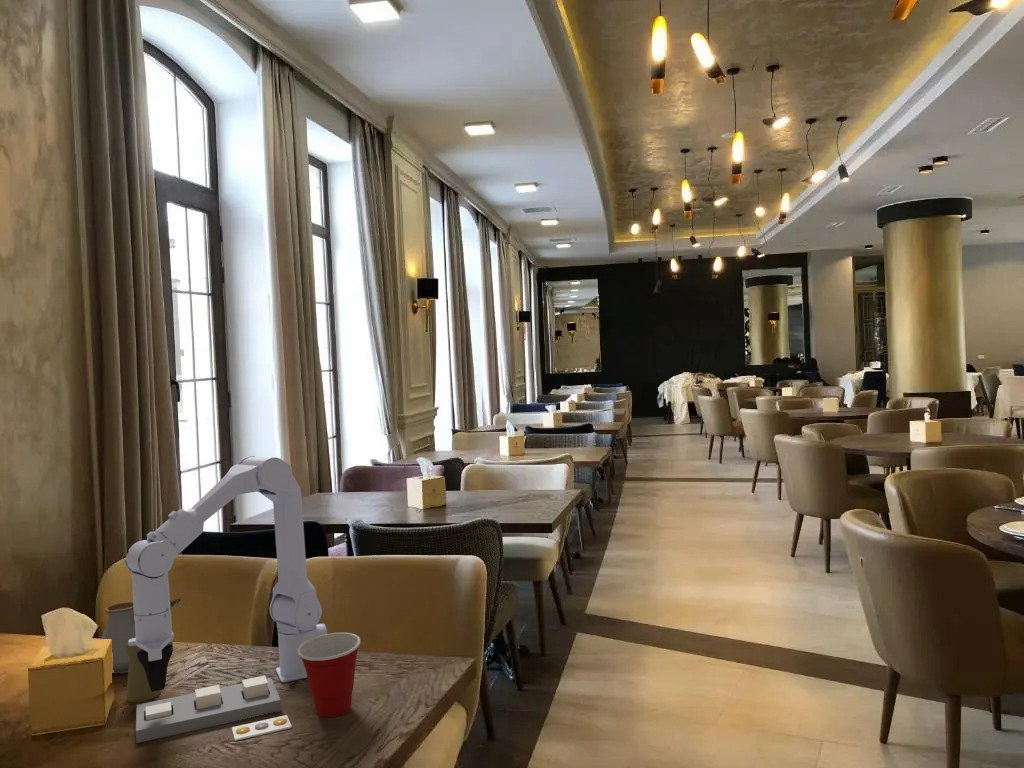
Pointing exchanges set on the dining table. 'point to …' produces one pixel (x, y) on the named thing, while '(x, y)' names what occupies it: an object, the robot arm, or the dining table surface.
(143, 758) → the dining table surface
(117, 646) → the coffee pot
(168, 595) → the robot arm
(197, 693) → the button middle
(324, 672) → the plastic cup
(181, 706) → the button board
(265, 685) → the button
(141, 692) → the olive pepper shaker
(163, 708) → the button
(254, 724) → the card
